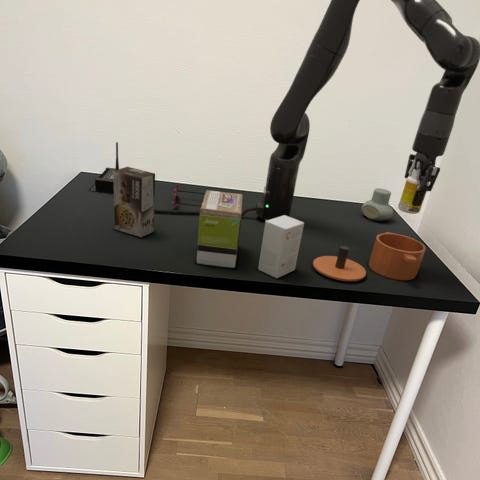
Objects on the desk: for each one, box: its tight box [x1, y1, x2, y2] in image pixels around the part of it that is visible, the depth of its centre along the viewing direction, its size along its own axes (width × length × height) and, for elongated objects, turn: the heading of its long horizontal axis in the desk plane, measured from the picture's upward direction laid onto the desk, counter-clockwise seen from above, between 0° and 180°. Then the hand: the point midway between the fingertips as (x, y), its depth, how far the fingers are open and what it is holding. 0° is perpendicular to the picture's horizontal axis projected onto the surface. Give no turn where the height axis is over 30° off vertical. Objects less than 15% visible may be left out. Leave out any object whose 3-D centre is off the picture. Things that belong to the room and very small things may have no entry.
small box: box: [257, 215, 305, 279], centre depth 117 cm, size 8×6×13 cm
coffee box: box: [113, 166, 156, 238], centre depth 126 cm, size 9×6×16 cm
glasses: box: [171, 185, 206, 210], centre depth 153 cm, size 14×16×5 cm
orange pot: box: [368, 231, 427, 281], centre depth 128 cm, size 13×18×8 cm
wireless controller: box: [90, 141, 120, 195], centre depth 155 cm, size 20×14×17 cm
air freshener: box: [361, 187, 394, 222], centre depth 166 cm, size 11×8×10 cm
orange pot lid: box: [312, 245, 367, 282], centre depth 123 cm, size 14×14×7 cm
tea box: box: [196, 189, 244, 269], centre depth 120 cm, size 15×10×15 cm, turn 178°
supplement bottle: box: [397, 169, 427, 215], centre depth 120 cm, size 6×6×10 cm
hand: (411, 201), depth 121 cm, fingers closed on supplement bottle, 5 cm apart
